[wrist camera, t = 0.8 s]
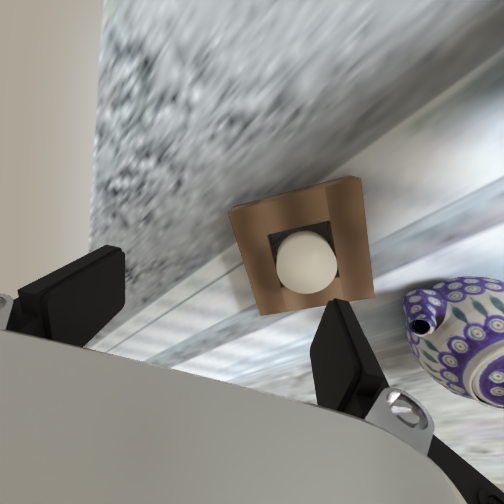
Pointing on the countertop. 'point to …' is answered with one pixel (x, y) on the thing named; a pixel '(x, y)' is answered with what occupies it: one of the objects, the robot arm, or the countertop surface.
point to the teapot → (461, 336)
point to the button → (305, 262)
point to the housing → (298, 215)
